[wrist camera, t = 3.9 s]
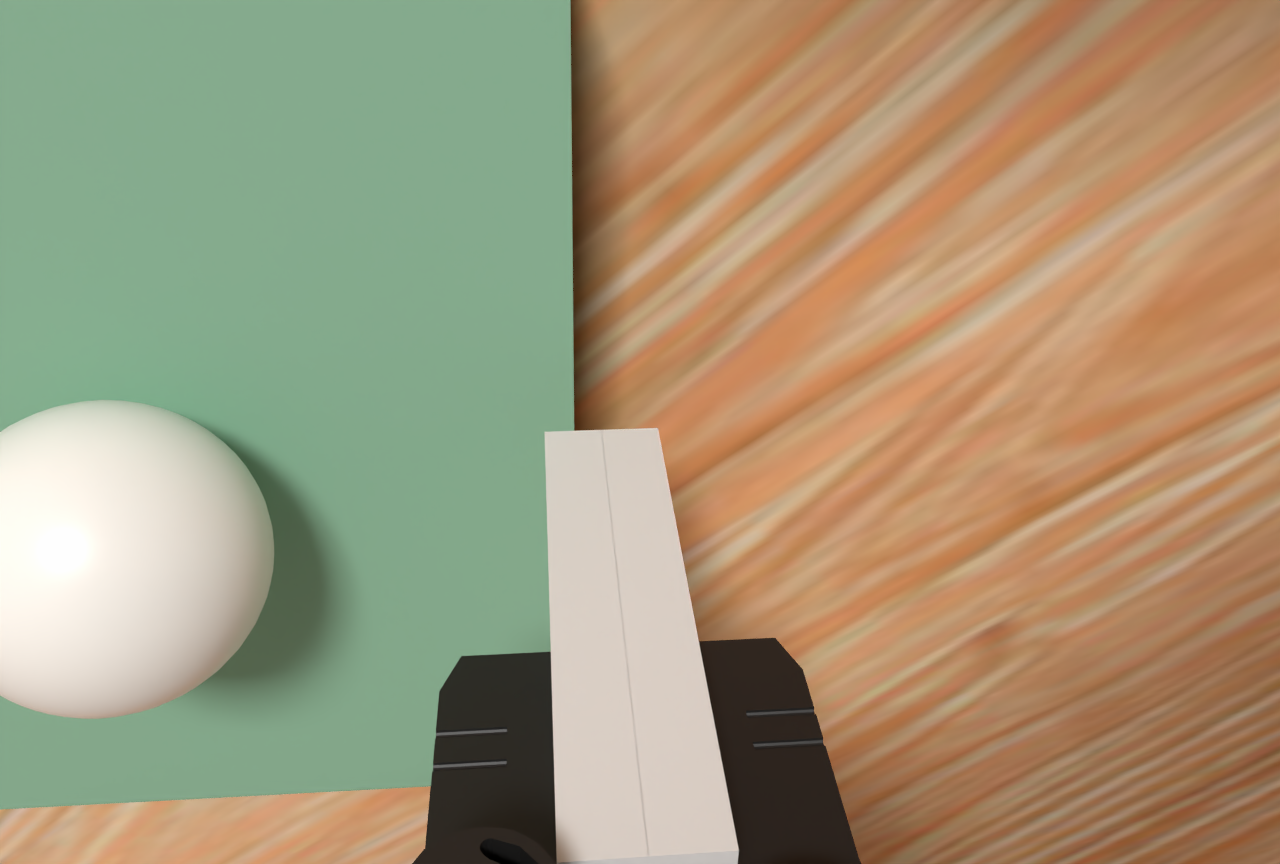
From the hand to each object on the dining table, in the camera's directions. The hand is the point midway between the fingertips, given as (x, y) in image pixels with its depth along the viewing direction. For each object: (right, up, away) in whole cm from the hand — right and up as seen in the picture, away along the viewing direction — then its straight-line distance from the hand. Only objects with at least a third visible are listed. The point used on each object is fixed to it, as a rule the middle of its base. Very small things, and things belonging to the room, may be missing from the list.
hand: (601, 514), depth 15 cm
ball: (-6, 0, -1) cm, 6 cm away
